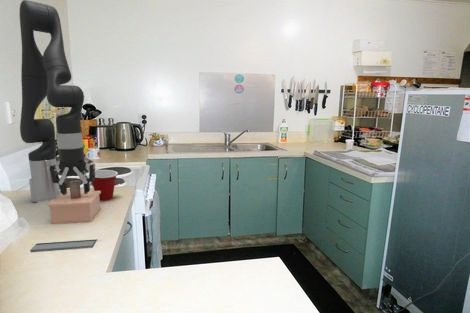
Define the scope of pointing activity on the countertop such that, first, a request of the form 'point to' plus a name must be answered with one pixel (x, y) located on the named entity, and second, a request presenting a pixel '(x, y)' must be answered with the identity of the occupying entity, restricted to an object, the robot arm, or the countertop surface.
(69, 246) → the mat
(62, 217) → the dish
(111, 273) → the countertop surface
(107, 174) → the plastic cup
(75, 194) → the lid
